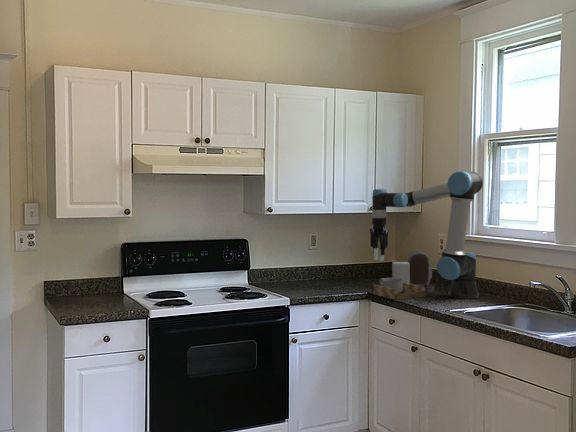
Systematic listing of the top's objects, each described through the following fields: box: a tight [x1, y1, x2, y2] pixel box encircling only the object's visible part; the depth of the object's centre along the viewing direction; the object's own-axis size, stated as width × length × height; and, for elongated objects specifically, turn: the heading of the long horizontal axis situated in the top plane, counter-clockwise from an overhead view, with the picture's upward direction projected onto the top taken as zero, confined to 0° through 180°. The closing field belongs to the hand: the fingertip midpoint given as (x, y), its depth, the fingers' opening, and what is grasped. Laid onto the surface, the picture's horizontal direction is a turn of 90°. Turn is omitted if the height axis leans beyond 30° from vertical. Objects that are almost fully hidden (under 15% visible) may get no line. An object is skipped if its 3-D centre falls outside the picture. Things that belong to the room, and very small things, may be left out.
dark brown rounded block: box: [407, 250, 434, 287], centre depth 361 cm, size 15×8×20 cm, turn 78°
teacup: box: [379, 277, 403, 293], centre depth 332 cm, size 14×11×8 cm
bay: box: [373, 278, 439, 301], centre depth 327 cm, size 21×27×9 cm
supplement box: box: [391, 261, 410, 284], centre depth 346 cm, size 9×9×15 cm
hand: (378, 260), depth 340 cm, fingers open, 4 cm apart
